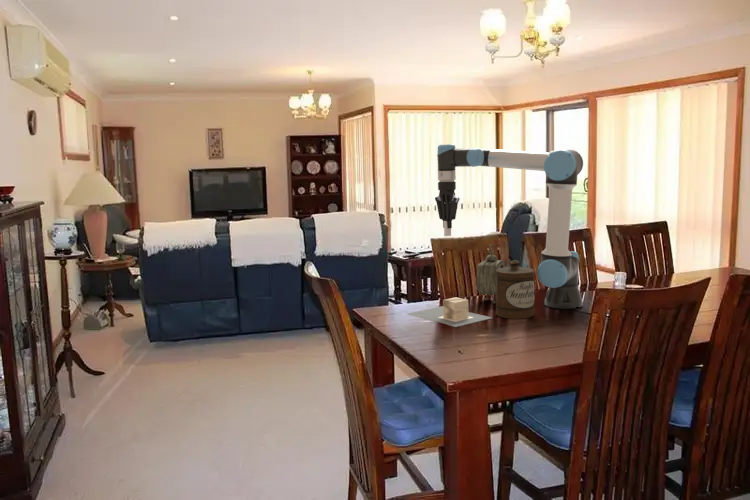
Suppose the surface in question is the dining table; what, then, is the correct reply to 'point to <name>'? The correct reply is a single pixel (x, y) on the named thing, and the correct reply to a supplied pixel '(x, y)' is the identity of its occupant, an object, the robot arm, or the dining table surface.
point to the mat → (437, 316)
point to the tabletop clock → (488, 274)
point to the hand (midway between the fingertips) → (447, 235)
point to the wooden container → (515, 291)
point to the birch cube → (455, 308)
